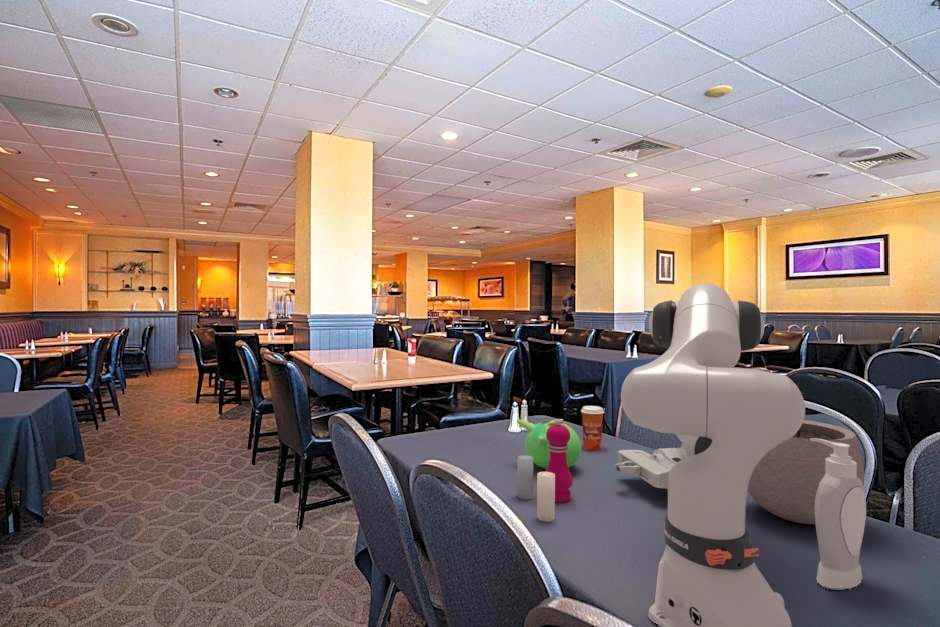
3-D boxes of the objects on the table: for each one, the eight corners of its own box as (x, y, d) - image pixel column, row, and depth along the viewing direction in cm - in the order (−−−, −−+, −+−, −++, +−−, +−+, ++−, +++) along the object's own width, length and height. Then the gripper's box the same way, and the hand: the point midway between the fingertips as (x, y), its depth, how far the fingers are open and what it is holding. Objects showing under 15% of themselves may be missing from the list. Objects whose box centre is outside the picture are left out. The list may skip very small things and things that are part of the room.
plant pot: (783, 492, 129) (785, 377, 129) (889, 531, 107) (891, 392, 106) (714, 505, 120) (715, 382, 120) (814, 550, 98) (816, 400, 98)
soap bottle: (829, 560, 94) (831, 433, 94) (877, 580, 87) (879, 443, 87) (787, 575, 89) (788, 441, 89) (834, 598, 82) (835, 452, 82)
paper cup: (579, 450, 166) (579, 409, 166) (581, 444, 173) (581, 404, 173) (603, 452, 164) (604, 410, 163) (604, 446, 171) (604, 406, 171)
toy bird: (592, 474, 143) (592, 423, 142) (541, 481, 136) (541, 428, 136) (558, 456, 159) (559, 411, 159) (512, 462, 153) (512, 415, 153)
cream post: (557, 521, 111) (557, 476, 111) (540, 522, 111) (540, 478, 111) (551, 513, 115) (551, 471, 115) (534, 515, 115) (534, 472, 114)
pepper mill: (554, 505, 120) (555, 423, 120) (537, 495, 127) (538, 417, 126) (578, 500, 124) (578, 420, 123) (560, 490, 130) (561, 414, 130)
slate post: (535, 499, 124) (535, 459, 124) (519, 500, 123) (519, 460, 123) (530, 493, 128) (530, 454, 128) (515, 494, 127) (515, 455, 127)
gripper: (645, 442, 141) (600, 445, 138) (690, 466, 121) (638, 469, 118) (645, 464, 141) (600, 467, 139) (689, 491, 121) (638, 495, 118)
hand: (617, 468), depth 128 cm, fingers closed
